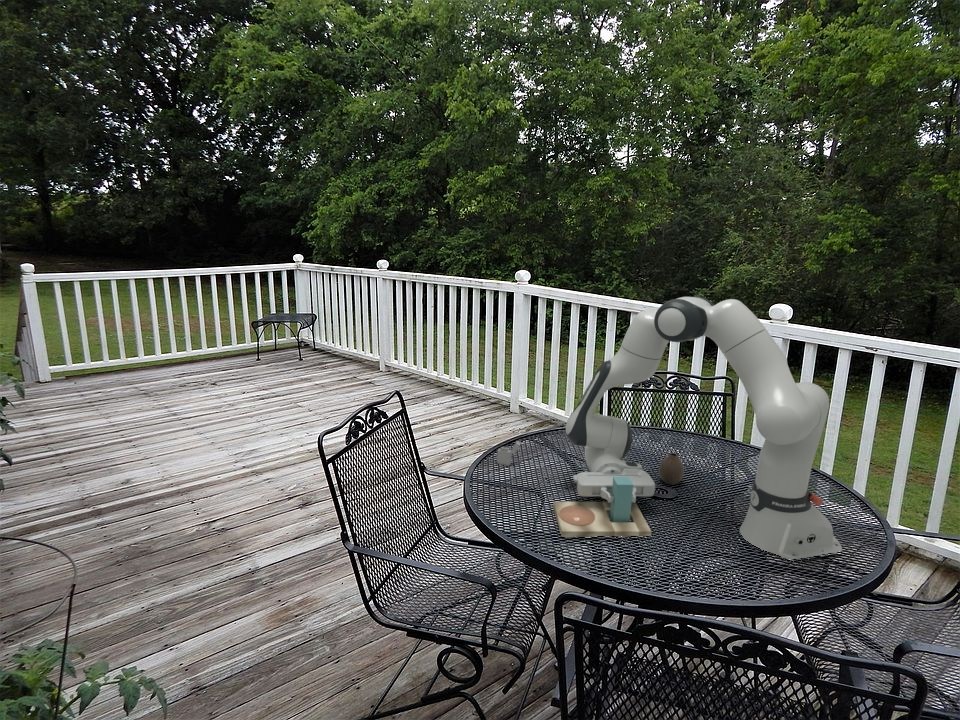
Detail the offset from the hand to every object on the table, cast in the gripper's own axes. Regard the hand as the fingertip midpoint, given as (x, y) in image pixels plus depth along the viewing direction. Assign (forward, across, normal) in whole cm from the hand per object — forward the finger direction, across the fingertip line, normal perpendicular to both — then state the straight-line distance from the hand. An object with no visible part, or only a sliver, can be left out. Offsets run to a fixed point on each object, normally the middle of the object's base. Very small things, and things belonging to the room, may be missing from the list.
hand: (622, 500), depth 144 cm
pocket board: (-1, -5, +7) cm, 9 cm away
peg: (-1, 0, +7) cm, 7 cm away
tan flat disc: (-1, -11, +5) cm, 12 cm away
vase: (-23, +21, +7) cm, 32 cm away
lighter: (-34, -26, +7) cm, 43 cm away
